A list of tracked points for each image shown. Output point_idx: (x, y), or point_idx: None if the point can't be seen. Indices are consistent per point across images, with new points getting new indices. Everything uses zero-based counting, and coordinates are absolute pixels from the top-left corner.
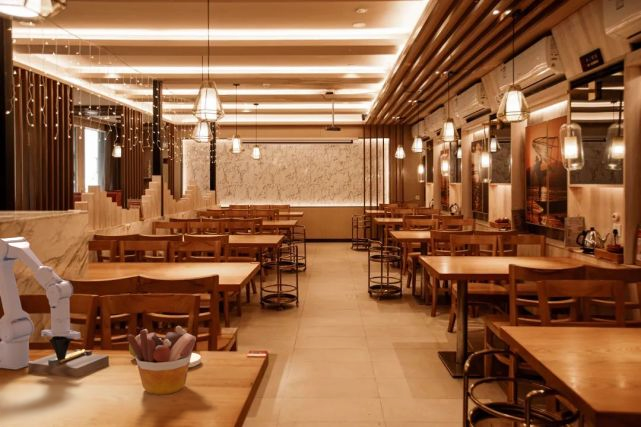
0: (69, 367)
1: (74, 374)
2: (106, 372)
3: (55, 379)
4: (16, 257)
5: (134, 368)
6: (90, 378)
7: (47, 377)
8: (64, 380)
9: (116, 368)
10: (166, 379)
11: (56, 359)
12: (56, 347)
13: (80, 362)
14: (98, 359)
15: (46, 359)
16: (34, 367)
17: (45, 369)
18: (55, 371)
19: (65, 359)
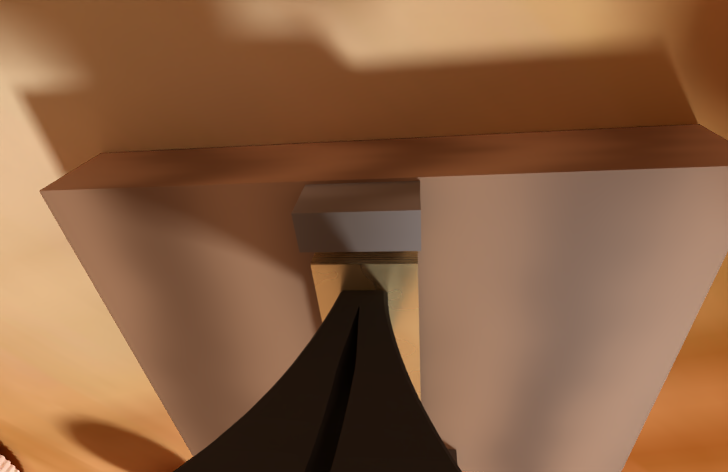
0: (127, 189)
1: (109, 163)
2: (66, 300)
3: (212, 40)
4: None
5: (24, 381)
6: (3, 176)
7: (343, 58)
8: (109, 52)
9: (101, 363)
10: None
11: (386, 280)
12: (350, 401)
13: (201, 322)
14: (159, 395)
15: (598, 310)
16: (627, 148)
17: (456, 152)
18: (323, 155)
19: (322, 315)
